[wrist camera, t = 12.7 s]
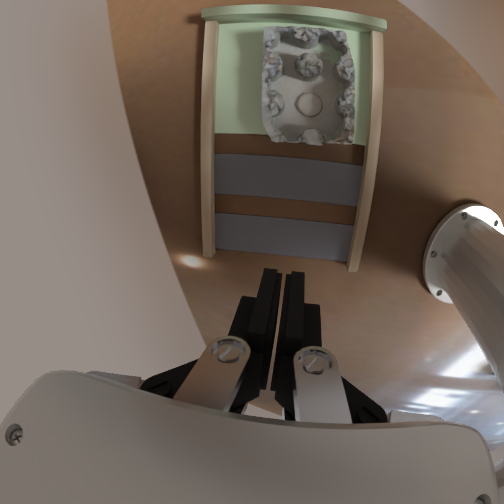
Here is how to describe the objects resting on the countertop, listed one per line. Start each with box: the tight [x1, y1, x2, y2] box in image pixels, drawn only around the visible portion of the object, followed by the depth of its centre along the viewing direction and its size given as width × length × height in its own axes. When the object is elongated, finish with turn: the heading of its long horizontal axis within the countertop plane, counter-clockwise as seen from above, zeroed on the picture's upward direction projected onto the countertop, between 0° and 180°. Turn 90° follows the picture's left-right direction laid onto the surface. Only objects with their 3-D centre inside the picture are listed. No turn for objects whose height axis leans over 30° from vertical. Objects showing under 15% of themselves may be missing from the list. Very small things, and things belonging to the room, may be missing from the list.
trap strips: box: [214, 154, 363, 262], centre depth 26 cm, size 14×10×1 cm
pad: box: [215, 23, 370, 146], centre depth 21 cm, size 14×12×1 cm
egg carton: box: [261, 26, 355, 146], centre depth 19 cm, size 11×8×4 cm
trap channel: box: [201, 4, 387, 272], centre depth 22 cm, size 16×25×2 cm, turn 178°
